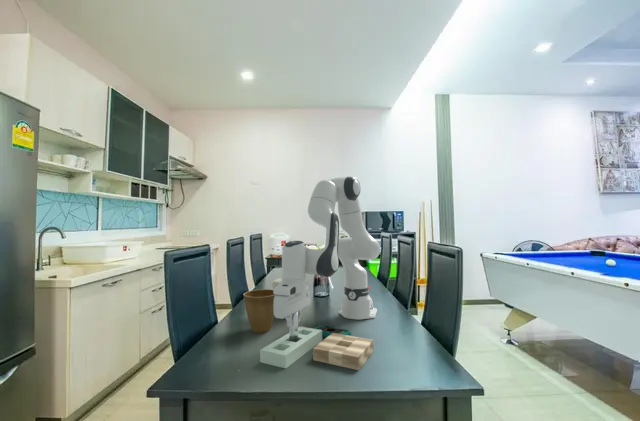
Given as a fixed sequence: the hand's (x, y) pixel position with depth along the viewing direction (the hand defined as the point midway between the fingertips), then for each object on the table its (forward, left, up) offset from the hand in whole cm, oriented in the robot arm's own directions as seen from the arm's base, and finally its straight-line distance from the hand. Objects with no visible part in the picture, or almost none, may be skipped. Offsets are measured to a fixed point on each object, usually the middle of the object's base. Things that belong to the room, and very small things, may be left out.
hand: (293, 324), depth 109 cm
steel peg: (0, 0, -7) cm, 7 cm away
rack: (0, 0, -9) cm, 9 cm away
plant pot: (-12, -24, -9) cm, 28 cm away
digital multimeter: (-20, +6, -10) cm, 23 cm away
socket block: (-4, +18, -9) cm, 21 cm away
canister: (-36, -25, -9) cm, 45 cm away
